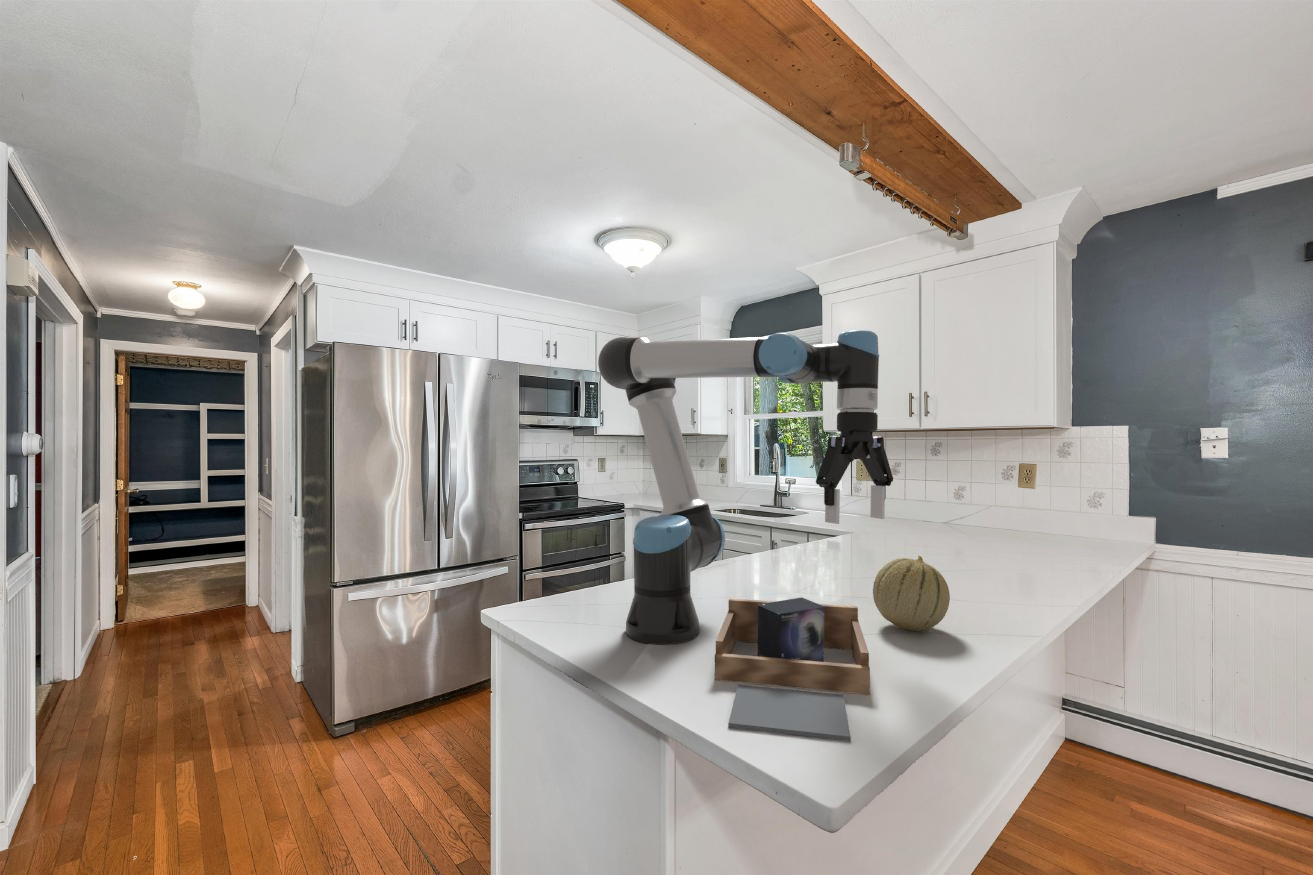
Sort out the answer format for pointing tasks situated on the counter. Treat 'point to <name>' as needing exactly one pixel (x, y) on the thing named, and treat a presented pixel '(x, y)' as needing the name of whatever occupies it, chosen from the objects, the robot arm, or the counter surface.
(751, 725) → the mat
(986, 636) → the counter surface
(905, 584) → the cantaloupe
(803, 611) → the small box
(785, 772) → the counter surface
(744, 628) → the open wooden tray
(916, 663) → the counter surface
